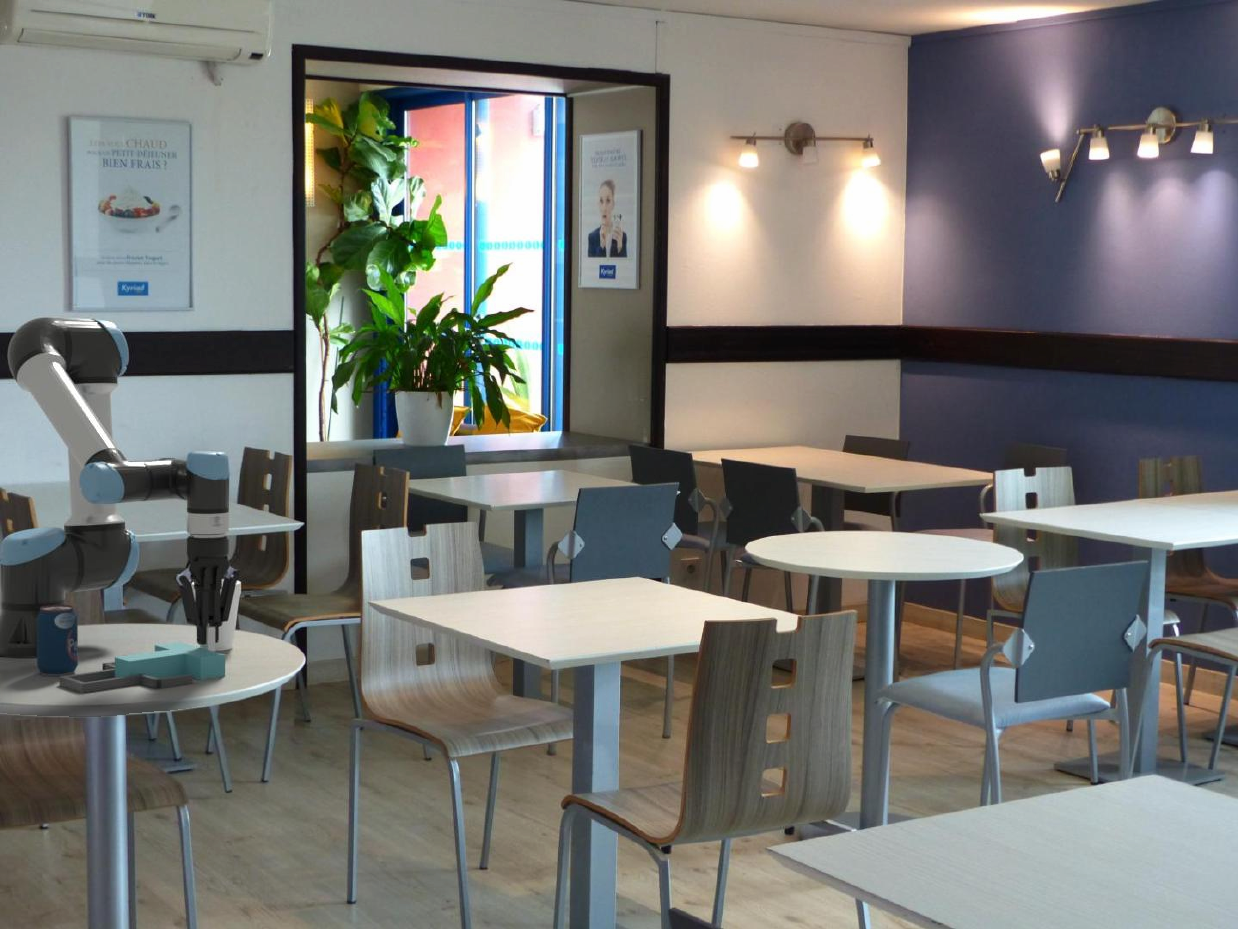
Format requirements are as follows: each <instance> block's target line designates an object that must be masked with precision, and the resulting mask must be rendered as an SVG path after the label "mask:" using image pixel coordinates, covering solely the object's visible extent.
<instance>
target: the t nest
mask: <svg viewBox="0 0 1238 929" xmlns="http://www.w3.org/2000/svg"><path fill="white" fill-rule="evenodd" d="M58 677H59V678H58V679H59V681H58V683H59V686H60V687H64V688H67V689H70V690H73V691H74V692H79V693H81V694H84V693H90V692H91V693H92V692H96V691H104V690H109V689H115V688H116V689H117V688H122V687H123V688H124V687H128V686H135V685H143V686H147V687H150V688H151V689H152V688H153V689H156V690H157V689H158V690H159V689H165V688H171V687H177V686H183V685H184V686H185V685H189V684H190V685H191V684H194V678H193V675H192V674H187V675H180V676H174V677H167V678H160V679H158V678H155V677H152V676H149V675H145V674H138V675H131V676H125V677H118V678H115V661H112V662H105V663H104V662H103V663H102V670H98V671H97V670H95V671H89V672H83V673H82V672H81V673H76V674H74V673H73V674H69V675H62V676H58Z"/></svg>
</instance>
